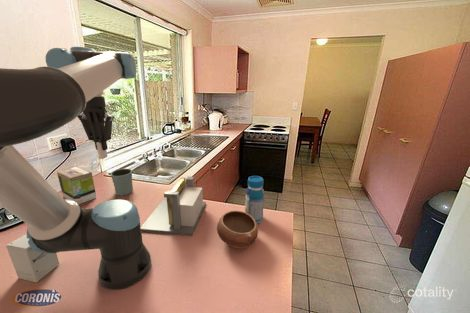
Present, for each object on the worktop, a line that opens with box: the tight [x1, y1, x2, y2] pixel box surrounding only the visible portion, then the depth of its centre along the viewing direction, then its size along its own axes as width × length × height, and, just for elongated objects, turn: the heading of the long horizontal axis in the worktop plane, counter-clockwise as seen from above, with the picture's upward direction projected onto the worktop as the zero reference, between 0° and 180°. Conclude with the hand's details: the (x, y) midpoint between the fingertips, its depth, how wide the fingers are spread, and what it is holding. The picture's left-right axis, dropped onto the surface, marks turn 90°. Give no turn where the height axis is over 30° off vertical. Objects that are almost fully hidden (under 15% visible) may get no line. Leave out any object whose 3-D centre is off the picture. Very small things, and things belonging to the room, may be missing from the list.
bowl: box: [216, 210, 259, 249], centre depth 82 cm, size 16×16×10 cm
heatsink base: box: [140, 176, 207, 236], centre depth 95 cm, size 22×24×17 cm
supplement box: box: [5, 232, 60, 283], centre depth 66 cm, size 7×7×13 cm
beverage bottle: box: [244, 175, 265, 224], centre depth 94 cm, size 8×8×20 cm
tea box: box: [56, 166, 97, 206], centre depth 109 cm, size 15×10×15 cm, turn 58°
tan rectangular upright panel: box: [166, 177, 187, 225], centre depth 95 cm, size 2×19×13 cm, turn 175°
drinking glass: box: [110, 168, 134, 196], centre depth 116 cm, size 10×10×12 cm
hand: (103, 157), depth 84 cm, fingers closed
